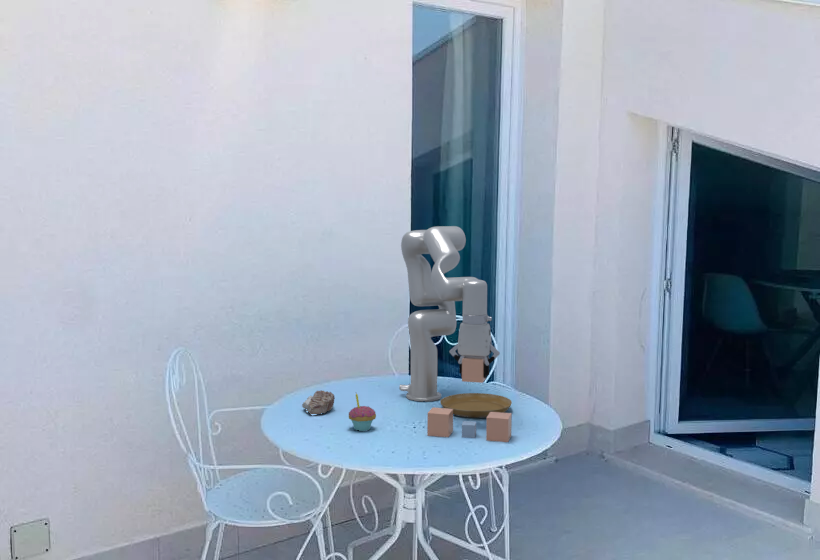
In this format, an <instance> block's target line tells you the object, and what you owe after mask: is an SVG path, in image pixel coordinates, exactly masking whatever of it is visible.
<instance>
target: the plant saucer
mask: <svg viewBox="0 0 820 560" xmlns="http://www.w3.org/2000/svg"><path fill="white" fill-rule="evenodd" d="M439 403H440V405H441V408H447V409H453V414H454V415H453V416H458V417H463V418H470V419H471V418H473V419H484V418H486V419H487V416H488V414H489V413H490V412H501V413H506V412H507V411H508V410H509V409H510V407H511V406H512V404H513V403H512V400H511V399H510V398H508V397H506V396H503V395H500V394H499V395H498V394H492V393H482V392H481V393H479V392H469V393H466V392H465V393H456V394H451V395H448V396H445V397H443V398H440V401H439Z"/></svg>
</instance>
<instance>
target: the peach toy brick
mask: <svg viewBox="0 0 820 560" xmlns="http://www.w3.org/2000/svg"><path fill="white" fill-rule="evenodd" d="M426 422H427V428H426V429H427V430H426V431H427V432H426V434H427V436H428V437H429V436H430V437H440V438H449V437H450V436H451V434H452V433H454V415H453V409H447V408H443V407H434V406H433V407H432V408H430V410H429V411H428V412H427V421H426Z"/></svg>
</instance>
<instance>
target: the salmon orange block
mask: <svg viewBox="0 0 820 560" xmlns="http://www.w3.org/2000/svg"><path fill="white" fill-rule="evenodd" d="M512 420H513V419H512V412H504V413H501V412H490V413H489V414H488V416H487V417H486V424H485V425H486V434H485V438H486V440H485V441H487V442H500V443H509V441H510V440H511V437H512Z"/></svg>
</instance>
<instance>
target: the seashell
mask: <svg viewBox="0 0 820 560" xmlns="http://www.w3.org/2000/svg"><path fill="white" fill-rule="evenodd" d="M335 398H336V397H335V394H334V393H332V392H331V391H325V390H316V391H315V392H314V394H313V395H310V396H308V397H307V398H306V400H305V401H304V402H302V405H301V407H302V408H303V409H304V408H305V409H304V410H305V412H306V411H308V412H309V413H310V414H309V413H308V414H309V415H311V414H321V413H324V414H326V413H328V412H330V411H331V410H332V409H333V407H334V404H335ZM306 409H307V410H306ZM327 411H328V412H327ZM321 415H322V414H321Z"/></svg>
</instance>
